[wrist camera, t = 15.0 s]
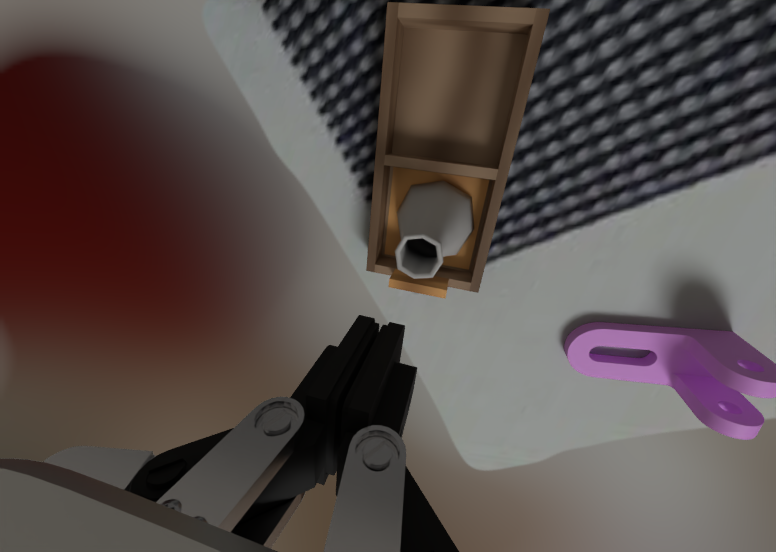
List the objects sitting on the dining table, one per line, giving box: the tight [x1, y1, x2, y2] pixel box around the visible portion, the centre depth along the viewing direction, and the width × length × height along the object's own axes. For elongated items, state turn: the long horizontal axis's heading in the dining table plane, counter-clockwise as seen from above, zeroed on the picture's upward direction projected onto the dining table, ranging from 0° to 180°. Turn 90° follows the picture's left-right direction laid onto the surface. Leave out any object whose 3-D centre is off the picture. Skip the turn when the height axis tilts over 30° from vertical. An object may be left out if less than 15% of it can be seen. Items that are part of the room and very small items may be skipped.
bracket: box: [564, 322, 776, 440], centre depth 28 cm, size 13×6×7 cm, turn 93°
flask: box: [395, 181, 474, 279], centre depth 25 cm, size 7×7×10 cm
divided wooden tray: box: [366, 2, 550, 298], centre depth 26 cm, size 11×20×6 cm, turn 174°
